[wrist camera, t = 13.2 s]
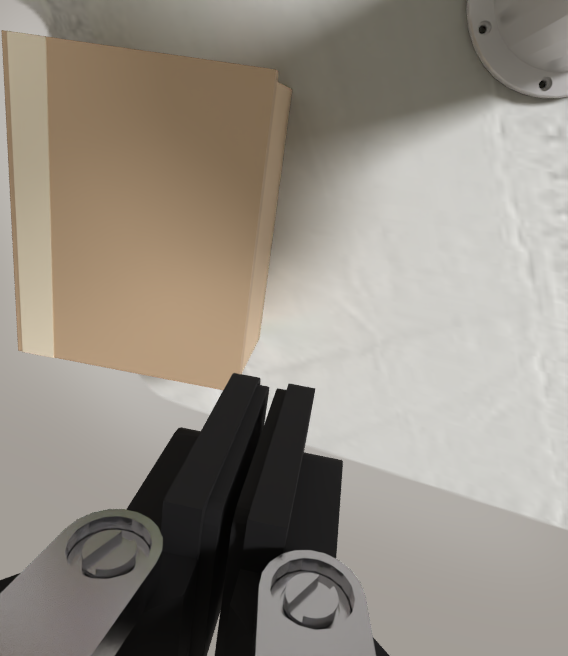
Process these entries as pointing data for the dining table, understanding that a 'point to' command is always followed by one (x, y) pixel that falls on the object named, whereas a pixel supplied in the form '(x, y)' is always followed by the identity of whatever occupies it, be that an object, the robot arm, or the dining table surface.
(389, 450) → the dining table surface
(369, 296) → the dining table surface
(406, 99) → the dining table surface
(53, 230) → the box lid
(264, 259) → the cardboard box
